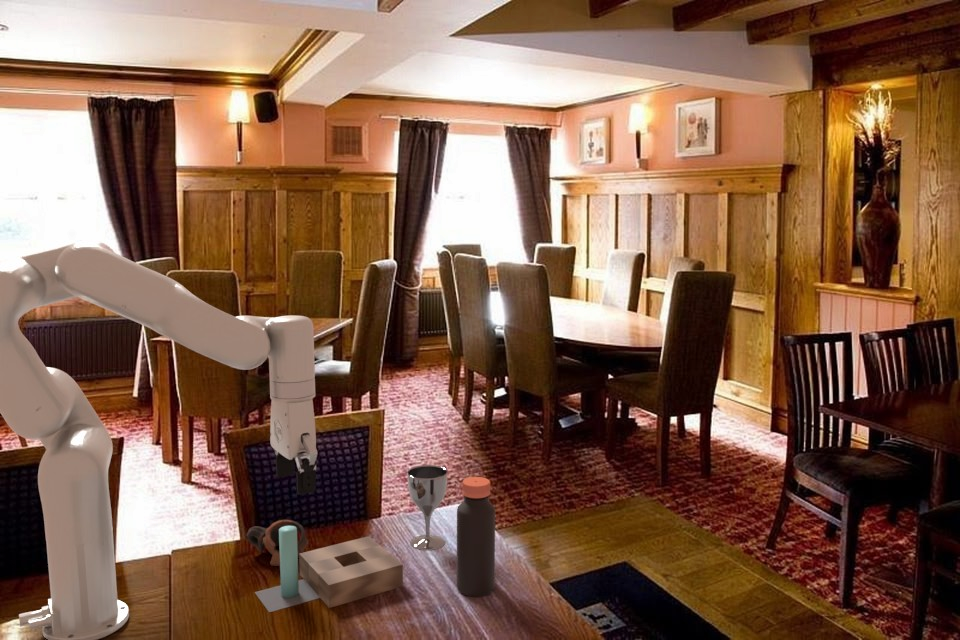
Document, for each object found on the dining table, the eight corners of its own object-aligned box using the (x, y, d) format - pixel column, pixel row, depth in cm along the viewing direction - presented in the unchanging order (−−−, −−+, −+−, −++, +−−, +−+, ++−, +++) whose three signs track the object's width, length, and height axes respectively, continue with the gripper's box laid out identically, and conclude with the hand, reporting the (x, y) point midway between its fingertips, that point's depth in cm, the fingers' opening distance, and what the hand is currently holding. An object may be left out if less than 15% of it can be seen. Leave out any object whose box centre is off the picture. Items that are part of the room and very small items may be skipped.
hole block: (329, 609, 132) (328, 585, 132) (299, 576, 144) (299, 553, 143) (402, 588, 140) (402, 564, 139) (369, 558, 152) (368, 536, 151)
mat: (269, 614, 131) (269, 612, 131) (254, 594, 137) (254, 592, 137) (325, 598, 136) (325, 596, 136) (308, 579, 143) (308, 577, 143)
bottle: (490, 599, 136) (491, 489, 133) (452, 595, 138) (452, 486, 134) (497, 581, 143) (498, 476, 140) (461, 577, 144) (461, 473, 141)
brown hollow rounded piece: (309, 545, 158) (315, 520, 153) (296, 585, 150) (302, 559, 146) (251, 531, 157) (254, 505, 152) (235, 571, 149) (238, 544, 145)
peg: (284, 600, 135) (282, 534, 133) (278, 592, 137) (276, 528, 135) (301, 595, 136) (299, 530, 135) (295, 588, 139) (293, 524, 137)
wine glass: (454, 539, 160) (455, 469, 158) (432, 554, 153) (431, 481, 151) (423, 531, 164) (423, 462, 162) (400, 544, 157) (399, 473, 155)
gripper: (254, 381, 138) (258, 474, 141) (290, 402, 124) (293, 505, 127) (294, 376, 142) (297, 466, 145) (334, 396, 128) (336, 495, 131)
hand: (295, 484), depth 136 cm, fingers open, 9 cm apart
